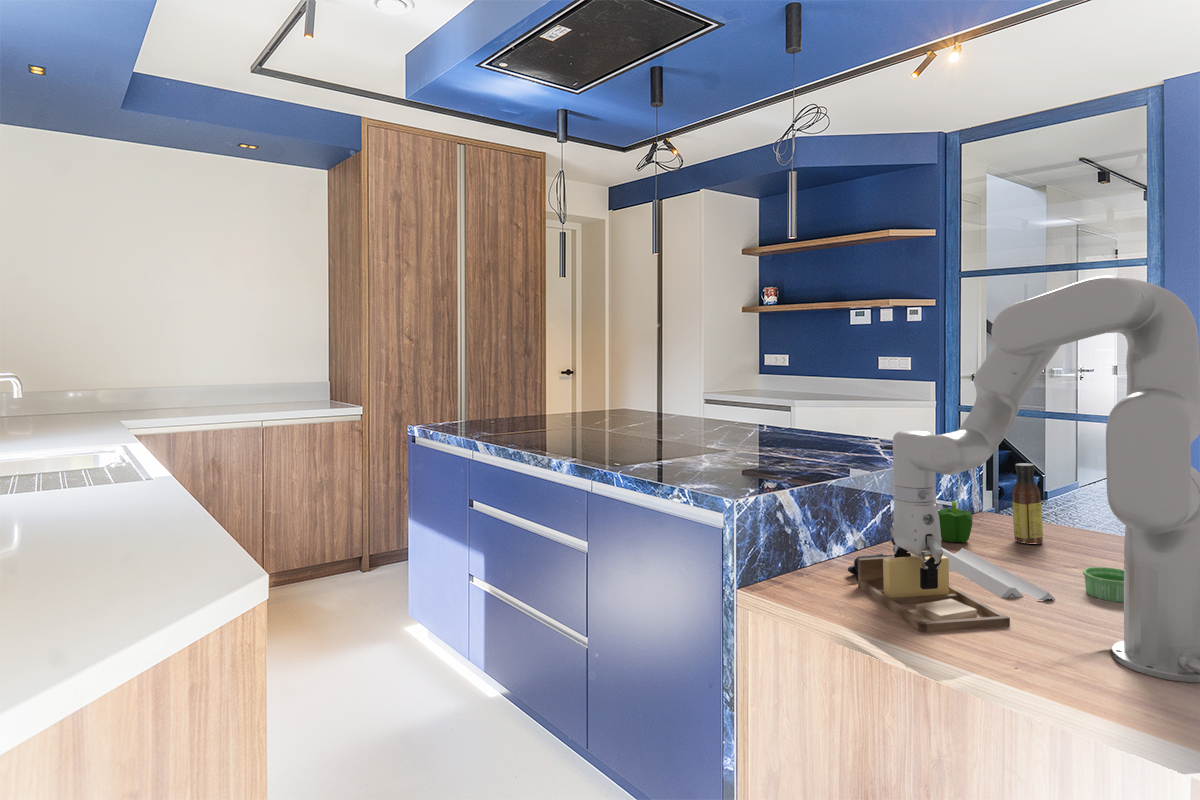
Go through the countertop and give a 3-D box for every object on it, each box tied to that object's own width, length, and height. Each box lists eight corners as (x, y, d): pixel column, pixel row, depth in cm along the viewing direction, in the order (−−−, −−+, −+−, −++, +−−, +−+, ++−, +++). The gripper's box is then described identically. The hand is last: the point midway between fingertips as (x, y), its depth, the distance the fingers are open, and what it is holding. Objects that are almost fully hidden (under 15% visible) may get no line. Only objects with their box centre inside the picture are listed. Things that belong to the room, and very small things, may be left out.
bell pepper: (966, 547, 168) (965, 507, 168) (931, 541, 174) (931, 503, 174) (978, 540, 174) (977, 501, 173) (944, 535, 180) (943, 498, 179)
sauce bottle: (1042, 540, 171) (1042, 462, 170) (1043, 546, 166) (1043, 466, 165) (1012, 537, 175) (1011, 461, 173) (1012, 544, 169) (1011, 465, 168)
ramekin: (1099, 603, 129) (1099, 581, 129) (1073, 587, 138) (1073, 566, 138) (1151, 604, 128) (1151, 581, 127) (1121, 588, 137) (1121, 566, 136)
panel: (949, 603, 132) (948, 558, 132) (889, 607, 132) (889, 561, 131) (942, 599, 135) (941, 554, 134) (883, 603, 134) (883, 558, 133)
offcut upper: (977, 618, 122) (977, 609, 121) (940, 624, 119) (940, 615, 119) (951, 607, 127) (951, 598, 127) (916, 613, 125) (915, 604, 125)
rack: (1009, 631, 118) (1009, 592, 117) (921, 638, 117) (920, 598, 116) (932, 586, 142) (931, 553, 141) (858, 591, 141) (857, 558, 140)
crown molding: (1054, 604, 131) (1054, 586, 131) (992, 607, 131) (992, 589, 131) (967, 557, 162) (967, 542, 162) (917, 559, 162) (917, 544, 162)
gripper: (959, 502, 124) (960, 594, 125) (909, 484, 141) (910, 565, 142) (919, 504, 123) (921, 596, 124) (874, 486, 140) (875, 568, 141)
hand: (915, 580), depth 133 cm, fingers open, 9 cm apart
